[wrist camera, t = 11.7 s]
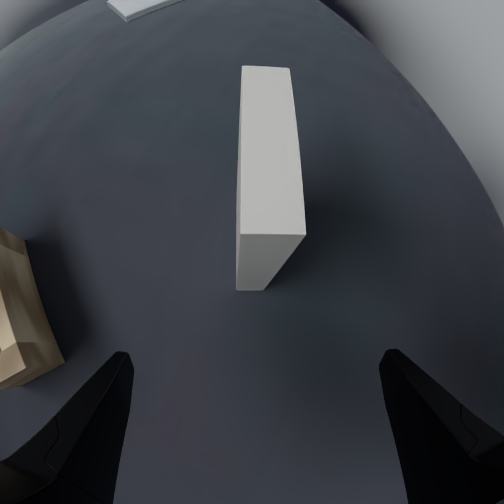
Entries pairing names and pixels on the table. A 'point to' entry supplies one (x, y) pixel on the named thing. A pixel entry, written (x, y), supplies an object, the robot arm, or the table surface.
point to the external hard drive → (137, 7)
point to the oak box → (22, 319)
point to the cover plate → (267, 177)
